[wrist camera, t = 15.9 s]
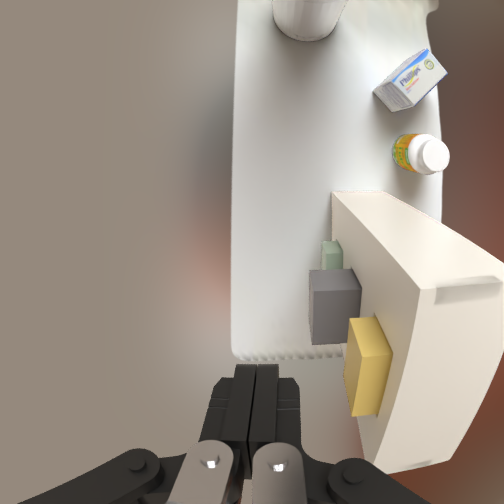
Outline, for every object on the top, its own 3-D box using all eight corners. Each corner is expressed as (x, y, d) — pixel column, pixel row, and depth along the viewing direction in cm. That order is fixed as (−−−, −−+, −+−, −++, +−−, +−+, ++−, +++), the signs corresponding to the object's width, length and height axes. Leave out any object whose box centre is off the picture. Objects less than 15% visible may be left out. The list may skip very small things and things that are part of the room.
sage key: (321, 241, 43) (326, 253, 38) (367, 239, 42) (377, 251, 37) (321, 281, 45) (325, 298, 40) (365, 280, 44) (373, 295, 39)
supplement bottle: (384, 145, 42) (409, 147, 33) (411, 127, 40) (441, 126, 31) (403, 176, 43) (430, 185, 34) (429, 158, 41) (460, 164, 32)
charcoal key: (309, 270, 34) (313, 291, 29) (368, 268, 33) (381, 288, 28) (308, 319, 35) (312, 344, 31) (364, 316, 35) (374, 340, 30)
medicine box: (391, 113, 40) (414, 108, 32) (370, 90, 39) (389, 80, 31) (423, 82, 38) (449, 73, 29) (403, 60, 37) (426, 46, 29)
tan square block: (349, 318, 24) (362, 356, 19) (423, 312, 23) (447, 346, 18) (343, 375, 26) (351, 416, 21) (410, 368, 25) (427, 405, 20)
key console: (331, 191, 45) (420, 289, 15) (383, 191, 44) (525, 278, 14) (329, 303, 51) (368, 476, 20) (376, 301, 50) (449, 459, 20)
